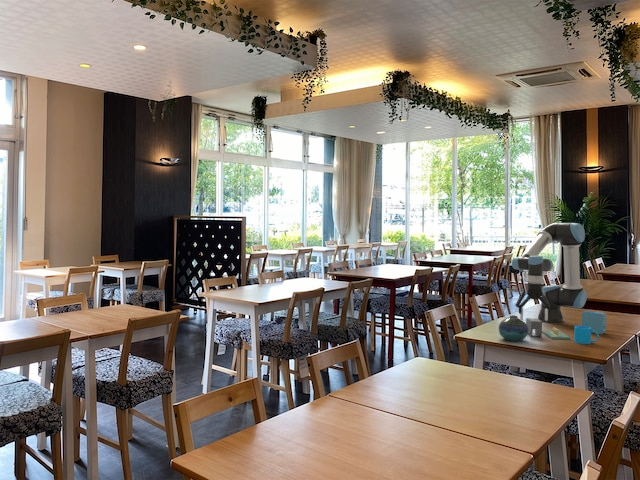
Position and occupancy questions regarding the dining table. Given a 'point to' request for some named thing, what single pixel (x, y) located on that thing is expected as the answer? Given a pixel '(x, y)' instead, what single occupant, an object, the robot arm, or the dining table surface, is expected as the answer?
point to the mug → (584, 335)
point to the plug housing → (534, 326)
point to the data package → (594, 321)
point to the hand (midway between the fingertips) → (533, 320)
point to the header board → (556, 334)
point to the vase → (513, 329)
